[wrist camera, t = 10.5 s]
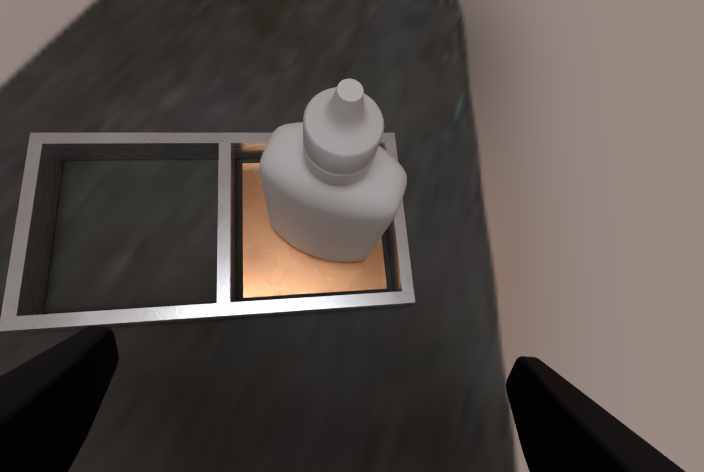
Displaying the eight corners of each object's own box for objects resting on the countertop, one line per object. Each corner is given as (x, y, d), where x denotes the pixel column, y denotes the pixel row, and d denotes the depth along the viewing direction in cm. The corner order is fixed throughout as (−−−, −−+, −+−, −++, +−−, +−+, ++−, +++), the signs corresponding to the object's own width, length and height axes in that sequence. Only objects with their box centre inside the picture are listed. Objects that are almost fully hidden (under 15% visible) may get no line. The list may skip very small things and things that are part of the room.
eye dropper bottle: (320, 170, 22) (340, -17, 11) (385, 241, 22) (480, 119, 10) (260, 216, 21) (212, 58, 10) (327, 293, 20) (362, 219, 9)
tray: (387, 148, 24) (394, 132, 22) (405, 306, 21) (415, 302, 19) (52, 150, 21) (30, 132, 19) (26, 332, 18) (-2, 331, 17)
